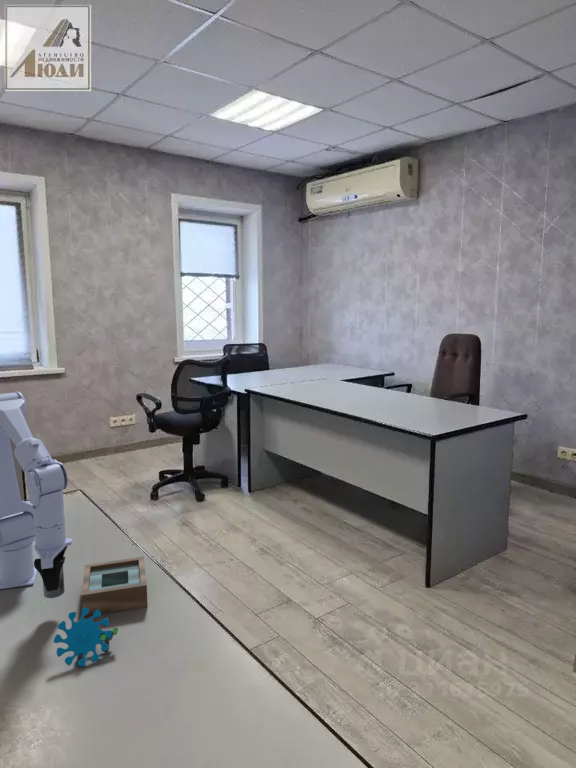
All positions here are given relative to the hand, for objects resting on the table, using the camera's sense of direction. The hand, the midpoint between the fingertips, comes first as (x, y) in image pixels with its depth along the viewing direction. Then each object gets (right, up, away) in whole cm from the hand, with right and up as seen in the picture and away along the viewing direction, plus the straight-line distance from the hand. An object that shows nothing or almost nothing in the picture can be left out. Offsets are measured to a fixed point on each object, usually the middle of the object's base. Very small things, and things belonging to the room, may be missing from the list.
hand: (53, 583), depth 108 cm
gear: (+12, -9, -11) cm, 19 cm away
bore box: (+10, -6, +8) cm, 14 cm away
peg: (0, -2, 0) cm, 2 cm away
